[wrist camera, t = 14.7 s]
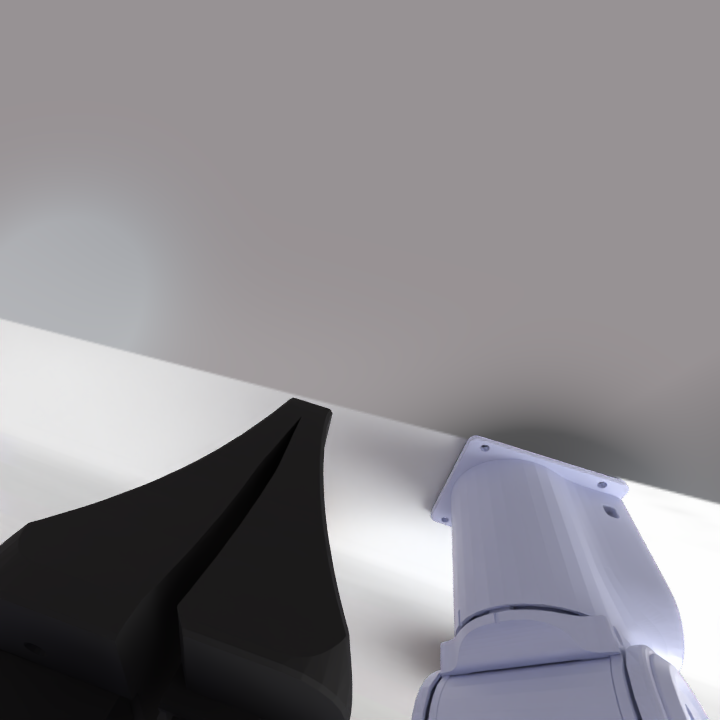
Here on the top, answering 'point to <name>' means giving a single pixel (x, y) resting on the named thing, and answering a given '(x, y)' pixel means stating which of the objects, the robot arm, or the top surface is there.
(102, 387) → the top surface
